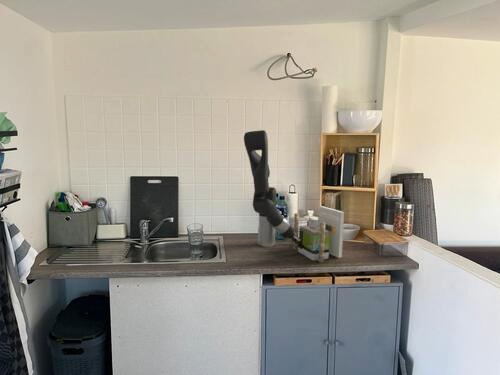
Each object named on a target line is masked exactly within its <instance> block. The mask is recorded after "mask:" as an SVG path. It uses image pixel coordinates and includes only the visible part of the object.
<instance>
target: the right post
mask: <svg viewBox="0 0 500 375" xmlns="http://www.w3.org/2000/svg"><path fill="white" fill-rule="evenodd" d="M324 243H325V223H324V222H320V240H319V260H318V263H324V262H325V259H324Z"/></svg>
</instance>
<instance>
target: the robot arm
mask: <svg viewBox="0 0 500 375" xmlns="http://www.w3.org/2000/svg"><path fill="white" fill-rule="evenodd" d="M243 143H244V147H245V150H246V153H247V157H248V159H249V160H248V161H249V164H250V170H251V174H252V177H253V178H252V179H253V187H254V193H253V198H252V207H253V211H255V213H256V214H258V227H257V228H258V229H257V233H258V234H257V245H258V246H260V247H264V248H268V247H269V248H270V247H273V246H275V243H276V242H275V240H276V239H275V238H276V233H278V234H279V236H281V237H282V238H283V239H287V240H288V241H290V242H291V243H294V244H296V245H297V246H298V249H299V248H300V249H302V248H303V247H304V245H303V244H302V239H301V238H299V236H298V237H297V235H296V234H295V233H294V225H292V224H291V223H290V221H288V220H287V219H286V218H285V217H284V216H283V215H282V214H281V213H280V212H279V210H278V208H277V206H276V205H277V204H276V203H277V188H275V187H272V186H270V184H269V178H270V175H271V171H270V167H269V165H270V164H269V139H268V133H267V132H266V130H263V129H261V130H253V131H247V132H244V135H243ZM257 151H261V155H260V154H259V153H258V152H257Z"/></svg>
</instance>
